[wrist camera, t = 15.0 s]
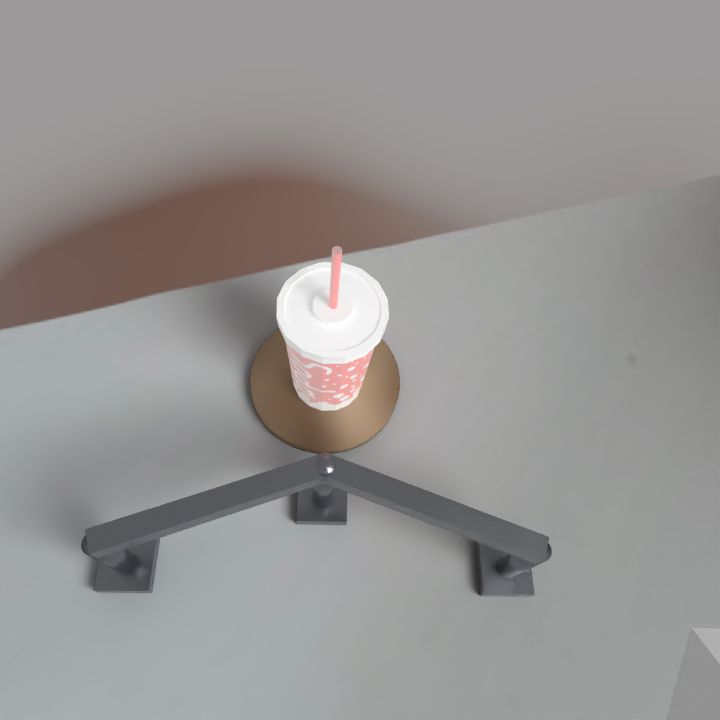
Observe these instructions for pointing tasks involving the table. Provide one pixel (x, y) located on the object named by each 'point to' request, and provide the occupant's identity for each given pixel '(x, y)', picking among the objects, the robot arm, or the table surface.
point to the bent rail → (314, 506)
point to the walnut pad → (313, 425)
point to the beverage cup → (331, 329)
